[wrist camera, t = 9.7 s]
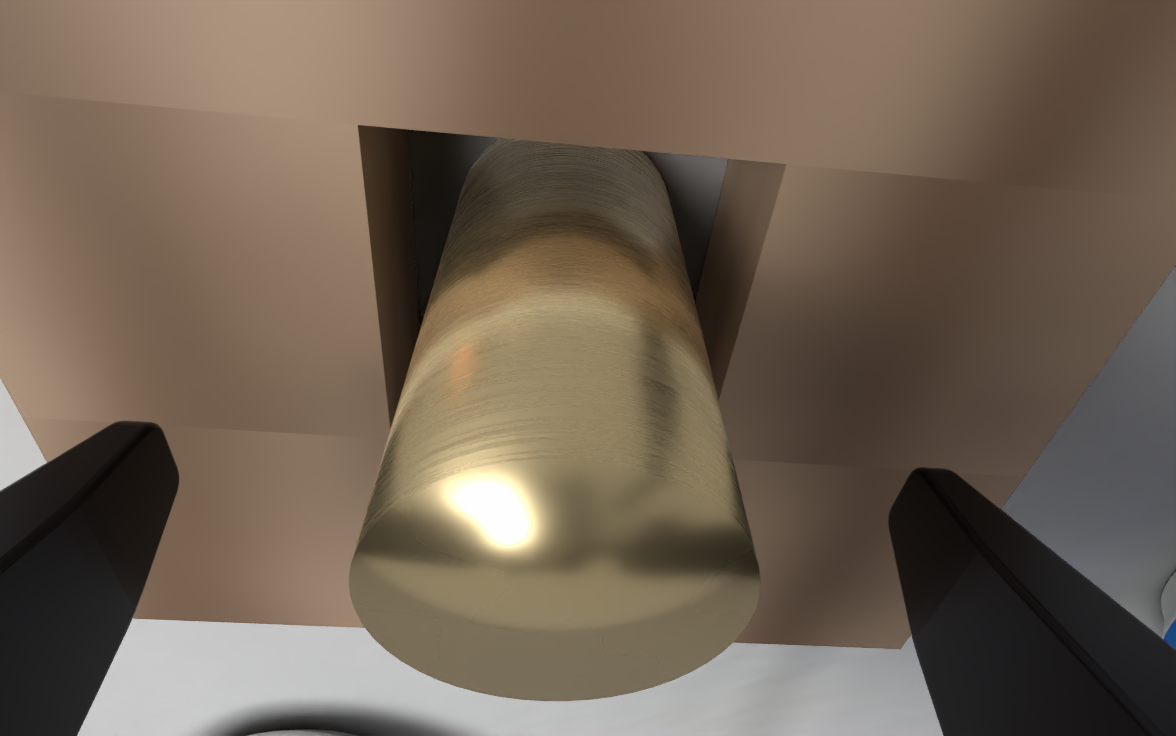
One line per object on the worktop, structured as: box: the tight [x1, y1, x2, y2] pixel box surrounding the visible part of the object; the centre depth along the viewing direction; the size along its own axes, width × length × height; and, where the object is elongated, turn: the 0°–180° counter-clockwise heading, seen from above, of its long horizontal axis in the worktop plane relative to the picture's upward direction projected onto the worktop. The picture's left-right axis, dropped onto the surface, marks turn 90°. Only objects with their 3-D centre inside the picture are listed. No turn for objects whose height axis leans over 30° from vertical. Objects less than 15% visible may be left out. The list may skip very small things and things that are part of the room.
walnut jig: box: [0, 0, 1176, 649], centre depth 12 cm, size 18×18×3 cm
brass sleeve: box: [349, 138, 761, 701], centre depth 10 cm, size 4×4×8 cm
